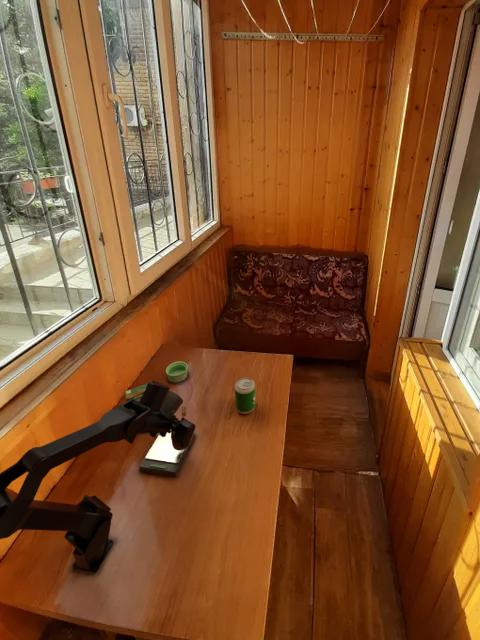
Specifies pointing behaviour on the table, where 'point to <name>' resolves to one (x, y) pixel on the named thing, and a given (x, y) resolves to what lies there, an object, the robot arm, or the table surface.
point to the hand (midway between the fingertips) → (183, 423)
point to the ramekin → (177, 371)
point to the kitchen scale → (164, 457)
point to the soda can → (245, 395)
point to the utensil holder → (174, 432)
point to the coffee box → (135, 393)
